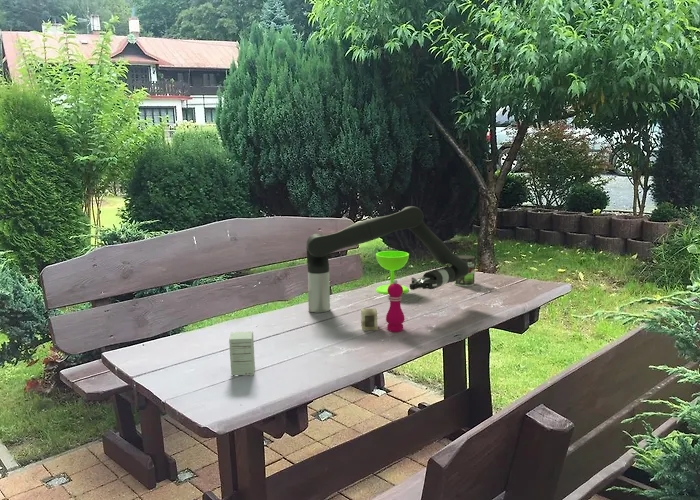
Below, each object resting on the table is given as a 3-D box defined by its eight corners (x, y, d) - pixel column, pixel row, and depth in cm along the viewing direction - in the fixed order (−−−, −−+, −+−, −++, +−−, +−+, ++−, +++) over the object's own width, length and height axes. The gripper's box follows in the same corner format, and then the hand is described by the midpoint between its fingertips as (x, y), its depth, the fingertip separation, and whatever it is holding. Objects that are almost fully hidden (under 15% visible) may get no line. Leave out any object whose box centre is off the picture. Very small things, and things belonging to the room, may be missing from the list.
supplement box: (232, 368, 204) (230, 331, 202) (255, 367, 205) (253, 330, 203) (230, 376, 197) (228, 339, 195) (253, 375, 198) (252, 338, 195)
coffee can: (478, 285, 306) (479, 257, 304) (460, 287, 303) (461, 259, 300) (467, 280, 316) (468, 253, 313) (449, 282, 312) (450, 255, 309)
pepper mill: (403, 332, 237) (403, 282, 233) (384, 331, 238) (384, 281, 234) (405, 327, 244) (405, 277, 240) (387, 326, 245) (387, 277, 241)
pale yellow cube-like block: (362, 330, 240) (361, 313, 239) (361, 325, 247) (361, 308, 245) (377, 330, 240) (377, 313, 239) (376, 325, 247) (376, 308, 245)
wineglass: (415, 291, 297) (416, 254, 294) (389, 296, 288) (389, 258, 285) (395, 284, 310) (395, 249, 307) (369, 289, 301) (369, 253, 298)
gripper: (422, 267, 262) (397, 275, 249) (449, 271, 253) (424, 280, 240) (422, 284, 263) (398, 293, 251) (449, 289, 254) (424, 298, 242)
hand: (411, 287), depth 245 cm, fingers closed
